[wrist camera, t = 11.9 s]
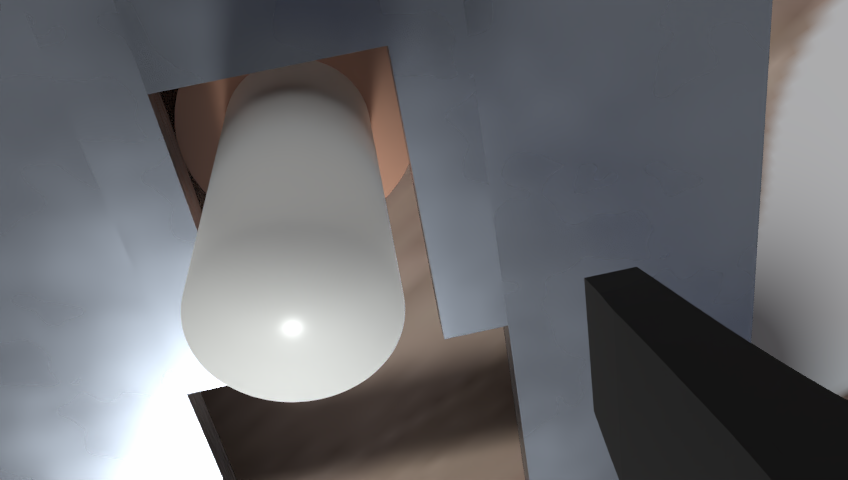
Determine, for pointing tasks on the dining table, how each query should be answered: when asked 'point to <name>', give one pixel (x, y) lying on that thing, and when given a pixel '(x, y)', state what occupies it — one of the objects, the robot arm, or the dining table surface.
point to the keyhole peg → (294, 225)
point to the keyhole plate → (433, 183)
